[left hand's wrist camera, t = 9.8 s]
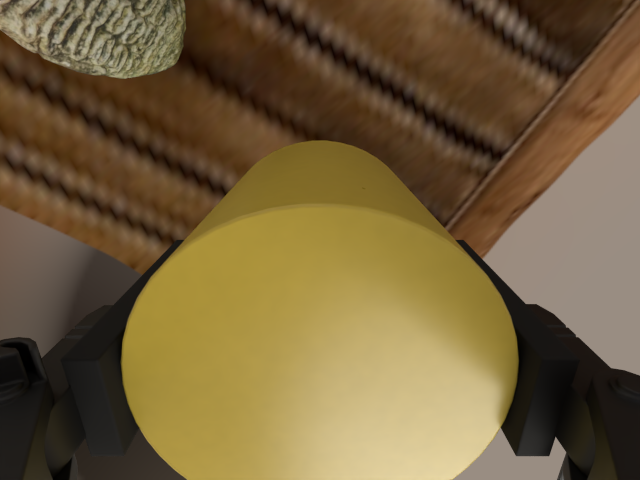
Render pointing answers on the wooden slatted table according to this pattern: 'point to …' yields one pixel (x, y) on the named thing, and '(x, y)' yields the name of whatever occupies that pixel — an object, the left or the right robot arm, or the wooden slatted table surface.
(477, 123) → the wooden slatted table surface
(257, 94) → the wooden slatted table surface
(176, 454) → the canister
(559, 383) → the left robot arm
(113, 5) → the fossil
